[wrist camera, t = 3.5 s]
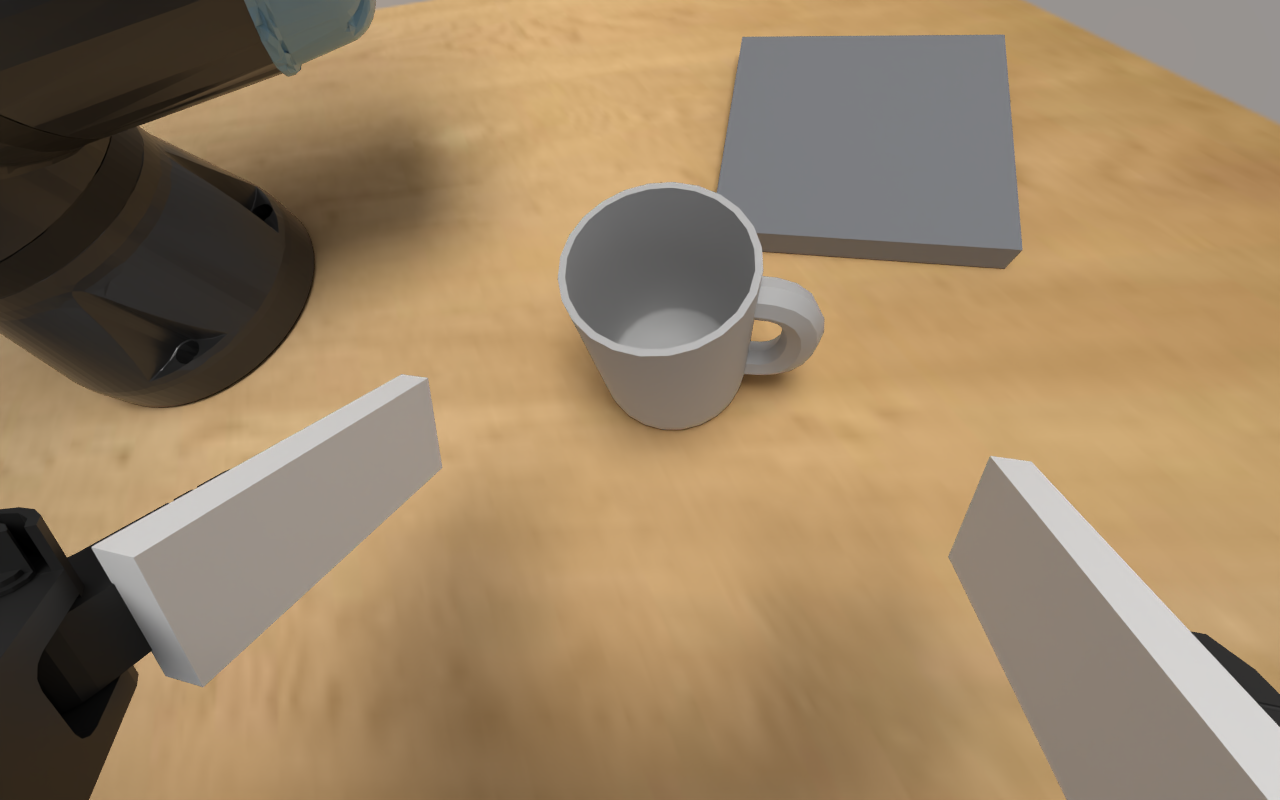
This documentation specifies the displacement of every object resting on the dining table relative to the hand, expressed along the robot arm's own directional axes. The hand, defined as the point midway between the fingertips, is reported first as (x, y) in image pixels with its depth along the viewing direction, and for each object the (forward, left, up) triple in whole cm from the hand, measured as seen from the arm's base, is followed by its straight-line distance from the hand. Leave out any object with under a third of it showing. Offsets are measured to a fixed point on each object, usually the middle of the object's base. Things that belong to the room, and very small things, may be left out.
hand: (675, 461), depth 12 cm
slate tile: (+6, +22, -12) cm, 26 cm away
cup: (-1, +7, -12) cm, 14 cm away
